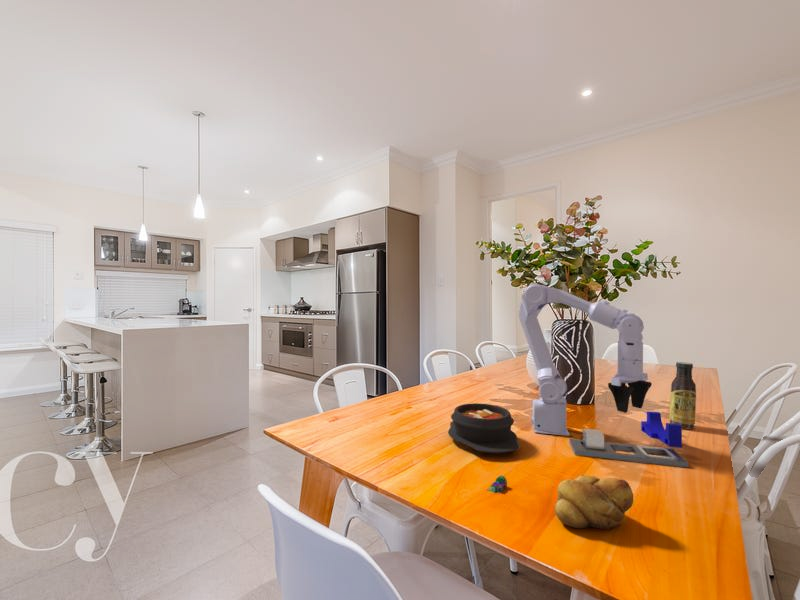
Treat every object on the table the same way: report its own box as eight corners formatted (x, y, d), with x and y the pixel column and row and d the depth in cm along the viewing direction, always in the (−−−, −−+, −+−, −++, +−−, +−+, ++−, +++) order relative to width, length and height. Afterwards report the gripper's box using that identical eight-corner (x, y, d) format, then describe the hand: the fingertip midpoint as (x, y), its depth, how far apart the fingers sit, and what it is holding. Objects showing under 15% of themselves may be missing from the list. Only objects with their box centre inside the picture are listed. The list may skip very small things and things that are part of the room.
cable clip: (641, 431, 107) (641, 411, 107) (658, 432, 106) (657, 412, 106) (662, 447, 95) (662, 424, 95) (681, 448, 94) (681, 425, 94)
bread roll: (571, 540, 57) (571, 490, 57) (538, 506, 67) (538, 463, 67) (640, 532, 60) (640, 484, 60) (599, 500, 69) (599, 459, 69)
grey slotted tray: (574, 455, 89) (574, 449, 89) (569, 443, 97) (569, 437, 97) (688, 467, 83) (688, 461, 83) (672, 453, 90) (672, 447, 90)
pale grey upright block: (586, 453, 90) (586, 433, 90) (583, 447, 94) (583, 428, 94) (604, 455, 89) (604, 435, 89) (599, 449, 93) (599, 430, 93)
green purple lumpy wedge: (494, 484, 76) (494, 472, 76) (506, 488, 74) (506, 477, 74) (485, 492, 73) (485, 480, 73) (498, 496, 71) (498, 485, 71)
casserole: (537, 457, 88) (538, 423, 88) (466, 463, 85) (466, 428, 85) (493, 423, 113) (493, 397, 113) (436, 427, 109) (436, 399, 109)
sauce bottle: (673, 428, 108) (673, 363, 109) (666, 422, 114) (666, 360, 114) (699, 431, 106) (699, 365, 106) (691, 425, 112) (691, 361, 112)
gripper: (631, 363, 88) (631, 418, 88) (660, 358, 96) (659, 409, 96) (603, 359, 95) (603, 410, 95) (632, 355, 102) (631, 402, 102)
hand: (629, 409), depth 96 cm, fingers open, 7 cm apart
